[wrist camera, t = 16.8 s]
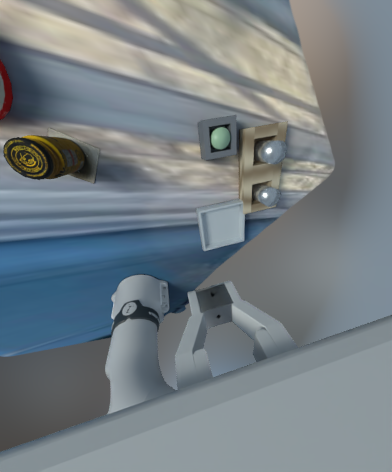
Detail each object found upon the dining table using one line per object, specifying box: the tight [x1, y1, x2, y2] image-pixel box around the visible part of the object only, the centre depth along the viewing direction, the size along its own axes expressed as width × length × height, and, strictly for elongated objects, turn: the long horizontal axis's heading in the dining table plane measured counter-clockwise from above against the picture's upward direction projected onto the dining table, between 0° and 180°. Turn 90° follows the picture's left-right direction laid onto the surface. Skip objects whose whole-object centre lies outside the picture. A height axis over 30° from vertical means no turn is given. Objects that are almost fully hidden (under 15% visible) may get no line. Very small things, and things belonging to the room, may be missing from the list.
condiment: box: [4, 128, 100, 183], centre depth 27 cm, size 7×8×12 cm
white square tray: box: [196, 199, 245, 251], centre depth 46 cm, size 13×13×2 cm
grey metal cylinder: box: [253, 140, 287, 164], centre depth 35 cm, size 4×4×7 cm
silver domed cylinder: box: [252, 183, 281, 207], centre depth 41 cm, size 4×4×7 cm
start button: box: [209, 127, 230, 149], centre depth 33 cm, size 4×4×3 cm
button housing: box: [198, 115, 237, 160], centre depth 34 cm, size 7×7×4 cm
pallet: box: [239, 121, 288, 214], centre depth 40 cm, size 20×10×3 cm, turn 8°
